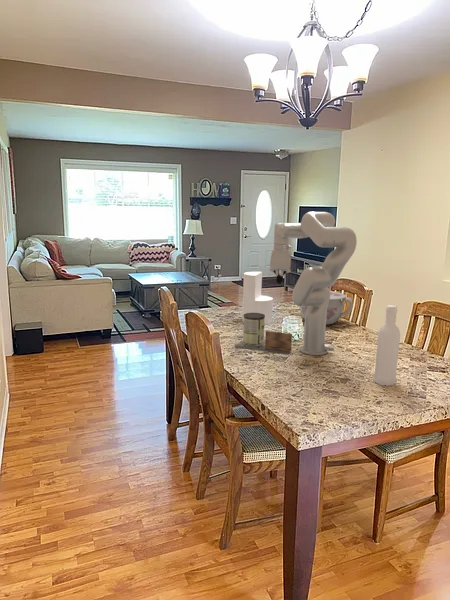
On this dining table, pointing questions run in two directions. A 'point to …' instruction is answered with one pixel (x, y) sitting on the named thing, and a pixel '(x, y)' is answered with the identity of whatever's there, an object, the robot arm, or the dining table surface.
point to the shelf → (278, 341)
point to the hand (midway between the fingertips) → (279, 283)
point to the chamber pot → (333, 307)
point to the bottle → (387, 349)
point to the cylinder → (256, 297)
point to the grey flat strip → (259, 348)
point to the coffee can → (253, 329)
